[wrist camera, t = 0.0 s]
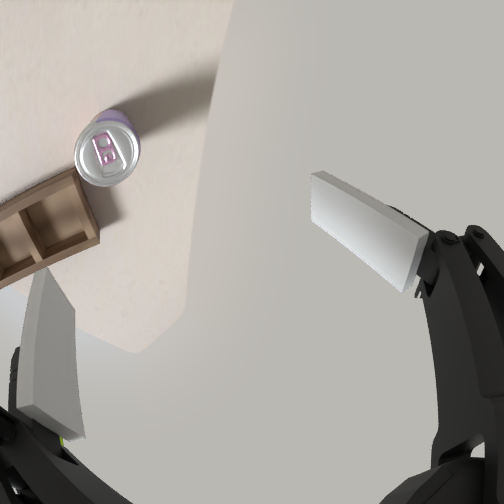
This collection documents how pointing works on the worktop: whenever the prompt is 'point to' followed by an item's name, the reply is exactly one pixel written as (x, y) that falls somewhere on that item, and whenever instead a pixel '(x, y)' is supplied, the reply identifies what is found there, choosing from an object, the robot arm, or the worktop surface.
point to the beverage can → (107, 149)
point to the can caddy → (45, 227)
